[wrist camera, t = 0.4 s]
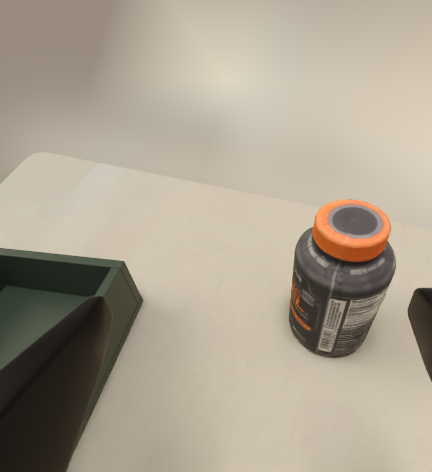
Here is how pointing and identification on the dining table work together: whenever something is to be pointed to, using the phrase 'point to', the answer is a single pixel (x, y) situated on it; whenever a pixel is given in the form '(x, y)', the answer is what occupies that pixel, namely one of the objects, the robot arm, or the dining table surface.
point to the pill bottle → (340, 277)
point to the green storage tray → (61, 301)
